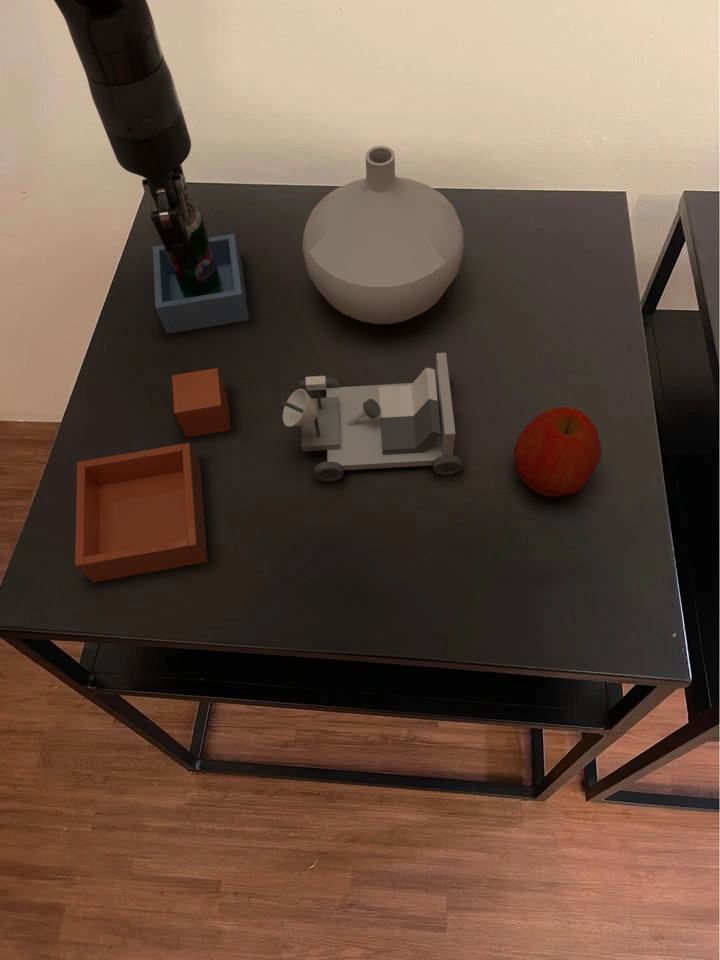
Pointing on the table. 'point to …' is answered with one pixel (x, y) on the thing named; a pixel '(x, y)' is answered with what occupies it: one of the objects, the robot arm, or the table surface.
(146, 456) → the terracotta bin
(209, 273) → the soda can
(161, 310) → the blue bin
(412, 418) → the toy car
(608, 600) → the table surface
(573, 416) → the apple
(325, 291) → the vase
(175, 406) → the block
